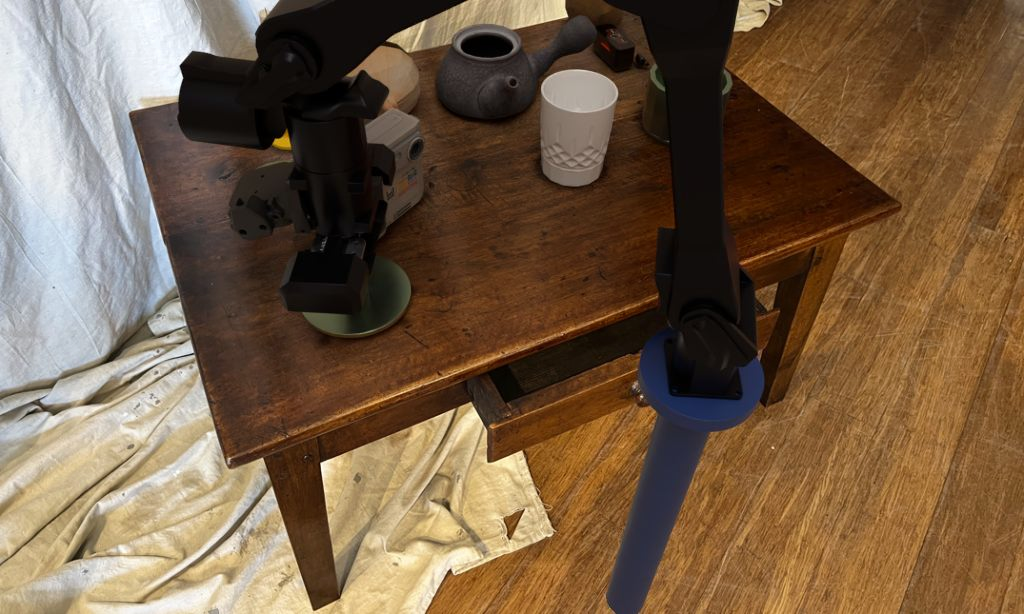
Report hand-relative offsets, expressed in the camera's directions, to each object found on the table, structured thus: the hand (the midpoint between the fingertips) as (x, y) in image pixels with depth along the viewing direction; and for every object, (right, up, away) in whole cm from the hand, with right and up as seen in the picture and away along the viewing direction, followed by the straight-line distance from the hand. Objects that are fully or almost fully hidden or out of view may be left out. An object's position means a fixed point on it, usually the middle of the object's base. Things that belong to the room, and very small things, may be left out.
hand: (354, 290), depth 73 cm
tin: (+34, +20, +22) cm, 46 cm away
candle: (-11, +18, +18) cm, 28 cm away
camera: (+1, +8, +10) cm, 12 cm away
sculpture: (-1, +20, +21) cm, 29 cm away
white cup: (+21, +14, +16) cm, 30 cm away
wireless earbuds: (+28, +31, +31) cm, 52 cm away
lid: (0, 0, 0) cm, 1 cm away
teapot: (+15, +24, +25) cm, 37 cm away
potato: (+29, +41, +34) cm, 61 cm away
